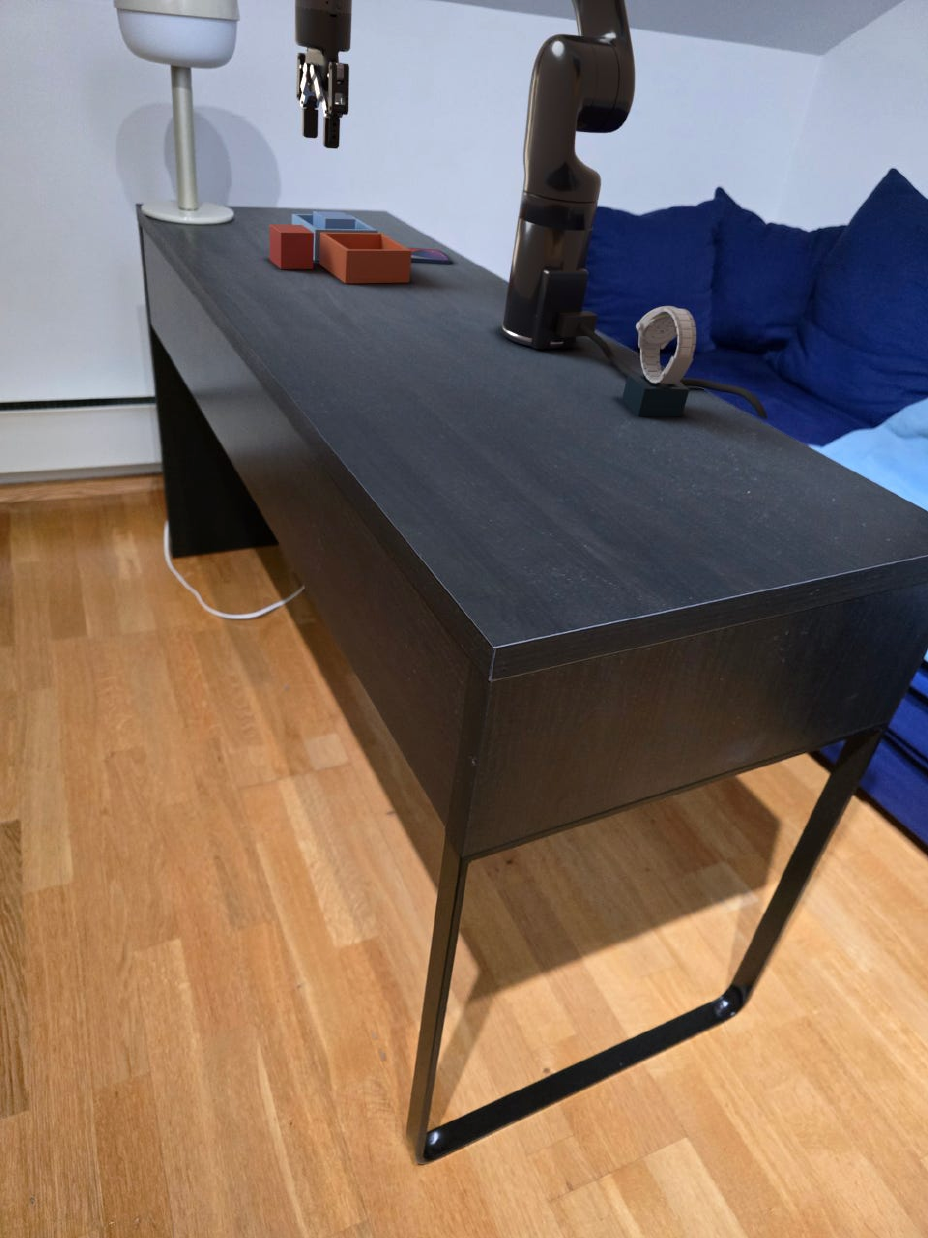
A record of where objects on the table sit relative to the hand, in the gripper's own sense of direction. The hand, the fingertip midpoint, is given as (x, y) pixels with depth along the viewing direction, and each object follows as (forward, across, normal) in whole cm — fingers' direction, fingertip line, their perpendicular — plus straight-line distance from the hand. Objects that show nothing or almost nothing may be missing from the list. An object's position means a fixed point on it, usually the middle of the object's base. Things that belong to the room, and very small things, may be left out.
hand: (320, 142), depth 127 cm
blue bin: (+16, -3, +4) cm, 17 cm away
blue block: (+15, -3, +4) cm, 16 cm away
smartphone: (+16, -2, +15) cm, 22 cm away
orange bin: (+16, +9, +4) cm, 19 cm away
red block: (+16, +4, -6) cm, 17 cm away
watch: (+16, +63, +16) cm, 67 cm away
